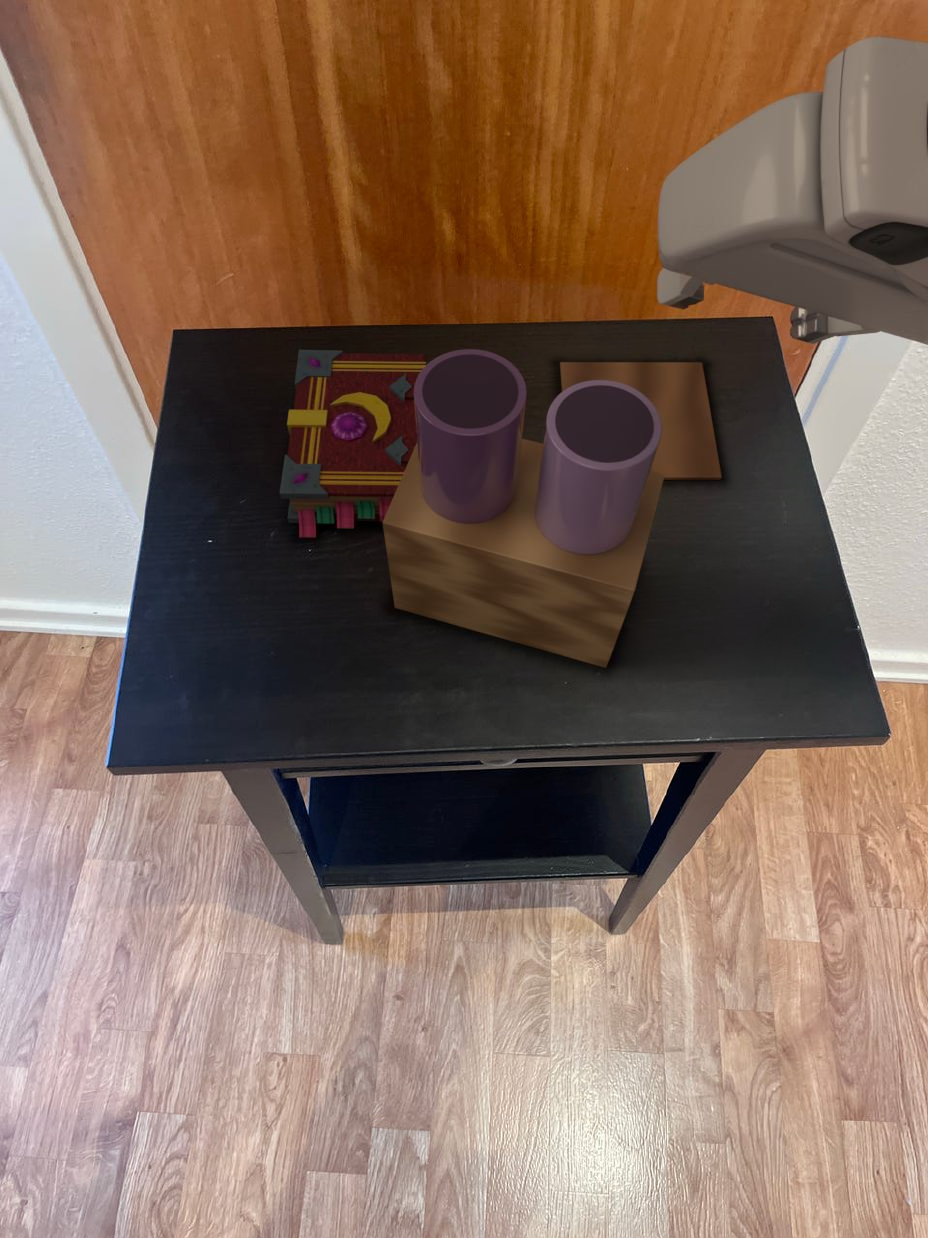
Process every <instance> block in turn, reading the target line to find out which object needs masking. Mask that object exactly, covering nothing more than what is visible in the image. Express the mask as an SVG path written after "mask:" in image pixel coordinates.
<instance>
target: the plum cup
mask: <svg viewBox="0 0 928 1238" xmlns="http://www.w3.org/2000/svg"><path fill="white" fill-rule="evenodd" d="M527 392H528V391H527V385H526V381H525V379H524V377H523V374H522V373H521V372H520V370H519V369H518V368H517V367H516V365H514V364H513V363H512V362H511V361H509V360H508V359H506V358H505V357H503V356H501V355H499V354H497V353H495V352H491V351H488V350H483V349H475V348H474V349H473V348H467V349H457V350H452V351H448V352H445V353H443V354H441V355H439V356H436V357H435V358H433V359H432V360H431V361H429V362H427V365H426V366H425V367H424V368H423V369H422V371H421V372H420V374H419V375H418V377H417V379H416V382H415V385H414V404H415V419H416V433H417V447H418V462H419V476H420V489H421V493H422V496H423V498H424V500H425V502H426V503H427V504H428V506H429V507H430V508H431V509H432V510H433V511H434V512H435V513H437V514H438V515H440V516H441V517H443V518H445V519H448V520H450V521H454V522H458V523H466V524H472V523H480V522H485V521H488V520H490V519H493V518H495V517H497V516H498V515H500V514H501V513H503V512H504V511H505V510H506V509H507V508H508V507H509V506H510V505H511V503H512V502H513V500H514V498H515V495H516V493H517V488H518V478H519V468H520V457H521V447H522V439H523V435H524V425H525V418H526V417H525V416H526V406H527V396H528V395H527Z"/></svg>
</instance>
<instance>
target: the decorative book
mask: <svg viewBox="0 0 928 1238" xmlns="http://www.w3.org/2000/svg"><path fill="white" fill-rule="evenodd" d="M427 358H428V357H427V353H360V352H358V353H357V352H355V353H354V352H353V353H352V352H351V353H350V352H349V353H348V352H347V353H345V352H343V350H331V349H330V350H328V349H325V350H323V349H298V355H297V362H296V368H295V369H296V370H295V376H294V377H295V378H294V388H295V395H294V404H293V409H288V415H287V421H286V426H287V430H288V434H289V441H288V448H287V454H286V453H285V454H284V461H283V465H282V466H283V467H282V474H281V481H280V487H279V497H280V499H281V500H289V504H288V509H287V511H288V512H287V521H288V523H289V524H298V527H299V529H298V532H299V533H298V535H299V538H317V526H316V525H317V524H331V525H332V524H333V525H334V524H335V522H336V528H337V529H354V528H355V522H382V523H383V520H384V518H385V516H386V513H387V511H388V509H389V506H390V504H391V502H392V499H393V497H394V495H395V492H396V490H397V488H398V485H399V483H400V481H401V479H402V476H403V474H404V472H405V469H406V467H407V465H408V462H409V460H410V458H411V455H412V453H413V451H414V448H415V446H416V444H417V433H416V419H415V404H414V385H415V382H416V379H417V377H418V375H419V374H420V372H421V371H422V369H423V368H424V367H425V366H426V365H427V364H428V359H427Z"/></svg>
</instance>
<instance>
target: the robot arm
mask: <svg viewBox="0 0 928 1238" xmlns="http://www.w3.org/2000/svg"><path fill="white" fill-rule="evenodd" d="M658 198H659V199H658V208H657V247H658V256H659V262H660V264H661V267H662V269H661V270H660V271H659V273H658V276H657V278H656V299H657V303H659V304H660V305H663V306H668V307H671V308H675V309H680V310H686V309H689V307H690V306H695V305H697V304H699V303H701V302H703V301H705V286H704V284H706V285H710V286H713V285H718V286H722V287H726V288H729V289H733V290H736V291H739V292H743V293H747V294H750V295H753V296H756V297H759V298H764V299H767V300H770V301H773V302H778V303H781V304H784V305H788V306H792V307H794V308H793V310H791V312H790V317H789V322H790V324H791V327H790V329H789V335H790V337H791V338H792V339H794V340H797V341H801V342H804V343H807V344H813V345H814V344H818V343H820V342H822V341H826V340H828V339H831V338H834V337H846V336H847V337H848V336H856V335H857V336H858V335H869V334H877V333H880V332H882V333H886V334H889V335H892V336H896V337H899V338H902V339H906V340H909V341H913V342H917V343H920V344H923V345H925V346H928V42H925V41H923V42H922V41H916V40H909V39H903V38H897V37H896V38H895V37H889V36H869V37H865V38H862V39H860V40H858V41H856V42H854V43H852V44H851V45H849V46H847V47H846V48H844V49H843V50H841V51H840V52H839V53H838V54H836V55H835V56H834V57H833V58H832V59H831V60H830V61H829V62H828V63H827V65H826V67H825V71H824V79H823V90H822V91H807V92H800V93H797V94H793V95H789V96H786V97H783V98H781V99H779V100H776V101H774V102H771V103H769V104H767V105H766V106H764V107H762V108H760V109H758V110H756V111H755V112H753V113H752V114H750V115H748V116H747V117H745V118H744V119H743V120H741V121H739V122H738V123H736V124H735V125H732V126H731V127H730V128H728V129H726V130H725V131H724V132H723V133H721V134H719V135H718V136H716V137H715V138H713V139H712V140H710V141H709V142H708V143H707V144H705V145H704V146H702V147H701V148H700V149H698V150H697V151H695V152H693V154H691V155H690V156H688V157H687V158H685V160H683V161H682V162H681V163H679V164H678V165H677V166H676V167H675V168H674V169H673V170H672V171H671V172H669V174H668V175H667V176H666V178H665V179H664V180H663V183H662V186H661V189H660V192H659V197H658Z"/></svg>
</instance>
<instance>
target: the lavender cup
mask: <svg viewBox="0 0 928 1238" xmlns="http://www.w3.org/2000/svg"><path fill="white" fill-rule="evenodd" d="M661 434H662V424H661V419H660V416H659V414H658V411H657V410H656V408H655V406H654V405H653V404H652V402H651V401H650V400H649V399H648V398H647V397H646V396H644V395H643V394H642V393H641V392H639V391H637V390H636V389H634V388H632V387H630V386H628V385H625V384H622V383H619V382H615V381H608V380H591V381H585V382H581V383H578V384H575V385H573V386H571V387H569V388H567V389H566V390H564V391H563V392H562V391H561V392H560V393H559V394H558V395H557V396H556V397H555V398H554V399H553V401H552V402H551V404H550V406H549V407H548V411H547V413H546V418H545V426H544V434H543V442H542V444H543V448H542V455H541V463H540V470H539V478H538V485H537V493H536V500H535V511H534V512H535V519H536V522H537V525H538V527H539V529H540V530H541V532H542V533H543V535H544V536H545V537H546V538H547V539H548V540H549V541H550V542H551V543H553V544H554V545H556V546H557V547H559V548H561V549H563V550H566V551H568V552H572V553H576V554H584V555H591V554H599V553H603V552H606V551H609V550H611V549H613V548H615V547H616V546H618V545H619V544H620V543H622V542H623V541H624V540H625V539H626V537H627V536H628V535H629V533H630V531H631V529H632V526H633V523H634V520H635V517H636V514H637V511H638V508H639V504H640V501H641V498H642V495H643V492H644V489H645V486H646V483H647V479H648V476H649V473H650V470H651V467H652V464H653V461H654V458H655V455H656V451H657V448H658V445H659V442H660V439H661Z"/></svg>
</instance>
